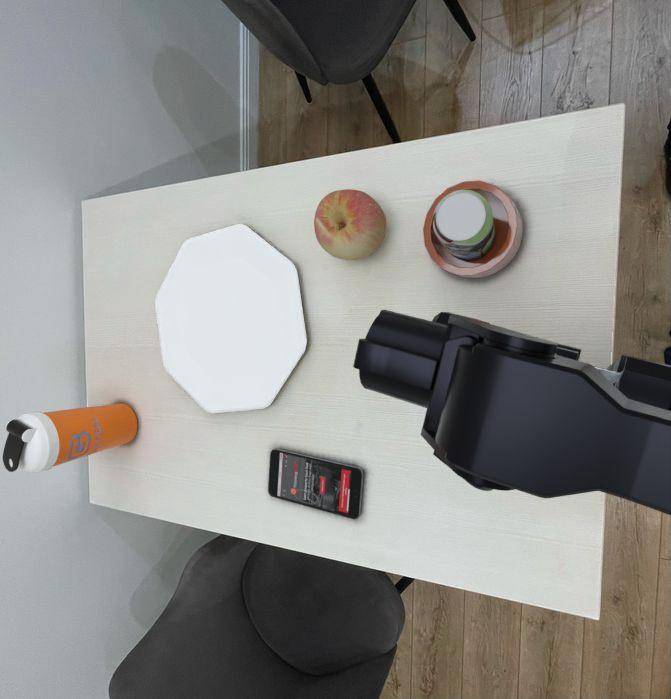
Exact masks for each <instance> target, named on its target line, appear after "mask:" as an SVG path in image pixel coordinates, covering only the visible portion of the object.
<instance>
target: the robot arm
mask: <svg viewBox="0 0 671 699" xmlns="http://www.w3.org/2000/svg"><path fill="white" fill-rule="evenodd" d="M582 351H583V349H582V348H579V347H574V346H571V345H568V344H564V343H563V344H562V343H558V342H555V341H551V340H548V339H544V338H540V337H537V336H533V335H531V334H526V333H523V332H519V331H517V330H516V331H515V330H513V329H509V328H506V327H503V326H499V325H496V324H492V323H490V322H487V321H483V320H481V319H477V318H474V317H470V316H465V315H462V314H457V313H452V312H448V311H441V312H439V313H437V314H436V315H435V316H434V317H433V319H431V320H429V319H423V318H420V317H417V316H412V315H408V314H404V313H400V312H396V311H391V310H388V309H381V310H380V311H379V313H378V315H377V316H376V317H375V318H374V320H373V321H372V323H371V325H370V326H369V329H368V331H367V333H366V335H365V338H358V342H357V347H356V351H355V356H354V360H353V364H352V367H353V369H356V370H358V375H359V376H358V377H359V382H360V384H361V386H362V387H363V388H364V389H366V390H369V391H372V392H375V393H378V394H381V395H384V396H386V397H387V396H388V397H391V398H394V399H396V400H400V401H403V402H406V403H410V404H413V405H415V406H419V407H422V408H424V409H426V411H425V415H424V419H423V424H422V428H421V431H420V436H421V437H422V438H423V439H424V440H425V441H426V443H427V444H428V445H429V446H430V447H431V448H432V449H433V453H432V455H433V456H434V457H436V458H437V459H438V460H439V461H440V462H442V463H443V464H444V465H446V466H447V467H448V468H449V469H450V470H451V471H452V472H453V473H454V474H456V475H457V476H458V477H460V478H462V479H463V480H464V481H465V482H466V483H468V484H469V485H470V486H472V487H473V488H475V489H477V490H480V491H483V492H484V491H485V492H491V491H493V490H496V491H506V492H508V491H515V490H516V491H519V492H522V493H525V494H529V495H532V496H535V497H536V498H537V497H538V498H541V499H553V498H560V497H566V496H573V495H580V494H587V493H593V492H601V493H605V494H607V495H610V496H614V497H617V498H620V499H624V500H626V501H630V502H632V503H634V504H638V505H640V506H644V507H647V508H649V509H652V510H654V511H657V512H659V513H663V514H664V515H665V514H666V515H668V516H671V365H670V364H667V363H666V364H665V363H661V362H658V361H653V360H649V359H645V358H641V357H636V356H631V355H625V354H621V355H620V356H618V358H617V359H615V361H614V362H613V363H611V364H610V365H609V366H608V367H607V368H604V367H603V368H602V367H599V366H594V365H592V364H590V363H587V362H583V361H581V360H580V358H581V353H582Z"/></svg>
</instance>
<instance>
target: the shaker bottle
mask: <svg viewBox="0 0 671 699" xmlns="http://www.w3.org/2000/svg"><path fill="white" fill-rule="evenodd" d="M138 427H139V426H138V418H137V415H136V413H135V411H134V409H133V408H132V407H131V406H130V405H128V404H127V403H122V402H119V403H112V404H103V405H94V406H87V407H78V408H70V409H62V410H53V411H45V412H42V411H33V412H29V413H24V414H21V415H19V417H17V418H13V419H10V420H9V421H8V422H7V423H6V425H5V430H6V432H7V433H8V434H7V437H6V440H5V443H4V448H3V452H2V463H3V466H4V468H5V470H6V471H8V472H10V473H14V472H16V471H17V470H18V468H19V469H21V470H23V471H25V472H27V473H30V474H39V473H41V472H45V471H49V470H51V469H52V468H53V467H56V466H60V465H63V464H66V463H69V462H72V461H75V460H78V459H81V458H85V457H88V456H90V455H93V454H97V453H100V452H102V451H107V450H109V449H112V448H115V447H119V446H122V445H124V444H129V443H131V442H132V441H133V440H134V439H135V438H136V435H137V433H138Z"/></svg>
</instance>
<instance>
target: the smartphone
mask: <svg viewBox="0 0 671 699" xmlns="http://www.w3.org/2000/svg"><path fill="white" fill-rule="evenodd" d="M268 468H269V470H268V488H267V493H268V495H269V496H270V497H271V498H275V499H279V500H282V501H285V502H289V503H293V504H296V505H300V506H303V507H309V508H310V509H311V508H312V509H314V510H319V511H321V512H326V513H330V514H333V515H337V516H341V517H343V518H348V519H350V520H351V519H352V520H357V519H359V518H360V516H361V514H362V513H361V512H362V501H363V499H362V498H363V488H364V486H363V485H364V475H365V474H364V470H363V468H362V467H360V466H357V465H351V464H347V463H343V462H339V461H334V460H330V459H326V458H320V457H316V456H312V455H307V454H304V453H299V452H294V451H290V450H285V449H281V448H277V447H275V448H272V449H271V450H270V453H269V467H268Z"/></svg>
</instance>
